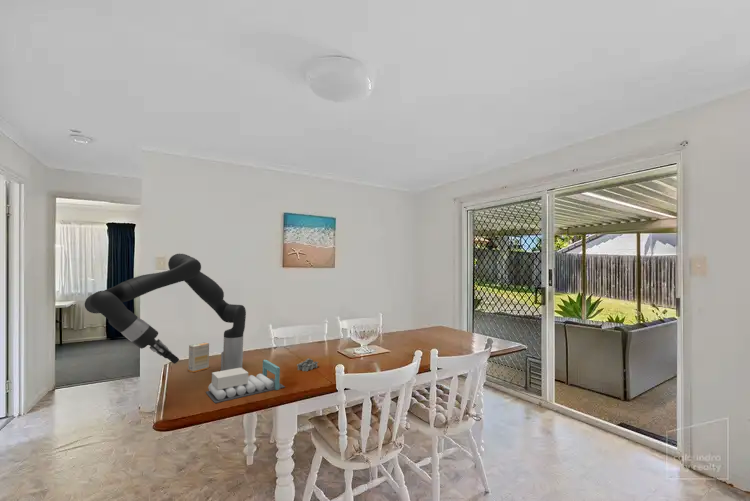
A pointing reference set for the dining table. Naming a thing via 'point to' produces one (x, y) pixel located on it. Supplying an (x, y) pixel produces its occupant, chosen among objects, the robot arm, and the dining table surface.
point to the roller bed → (243, 389)
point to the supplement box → (198, 357)
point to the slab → (229, 378)
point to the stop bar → (272, 371)
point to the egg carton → (307, 365)
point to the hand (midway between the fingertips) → (176, 361)
